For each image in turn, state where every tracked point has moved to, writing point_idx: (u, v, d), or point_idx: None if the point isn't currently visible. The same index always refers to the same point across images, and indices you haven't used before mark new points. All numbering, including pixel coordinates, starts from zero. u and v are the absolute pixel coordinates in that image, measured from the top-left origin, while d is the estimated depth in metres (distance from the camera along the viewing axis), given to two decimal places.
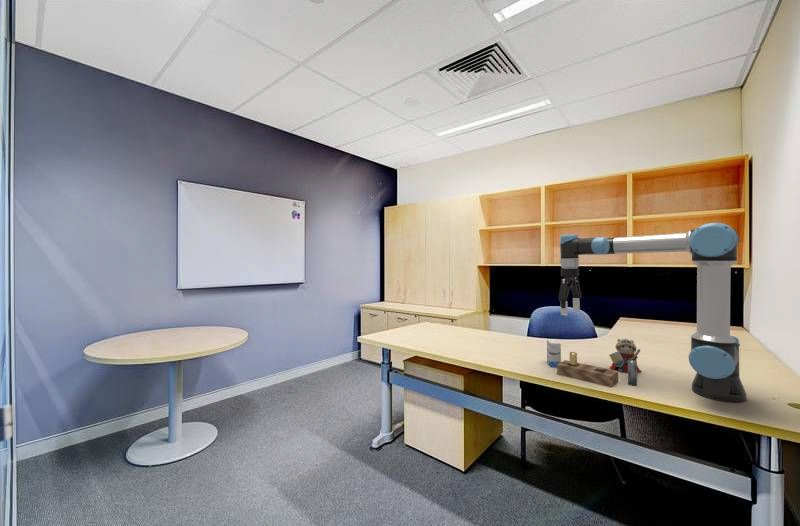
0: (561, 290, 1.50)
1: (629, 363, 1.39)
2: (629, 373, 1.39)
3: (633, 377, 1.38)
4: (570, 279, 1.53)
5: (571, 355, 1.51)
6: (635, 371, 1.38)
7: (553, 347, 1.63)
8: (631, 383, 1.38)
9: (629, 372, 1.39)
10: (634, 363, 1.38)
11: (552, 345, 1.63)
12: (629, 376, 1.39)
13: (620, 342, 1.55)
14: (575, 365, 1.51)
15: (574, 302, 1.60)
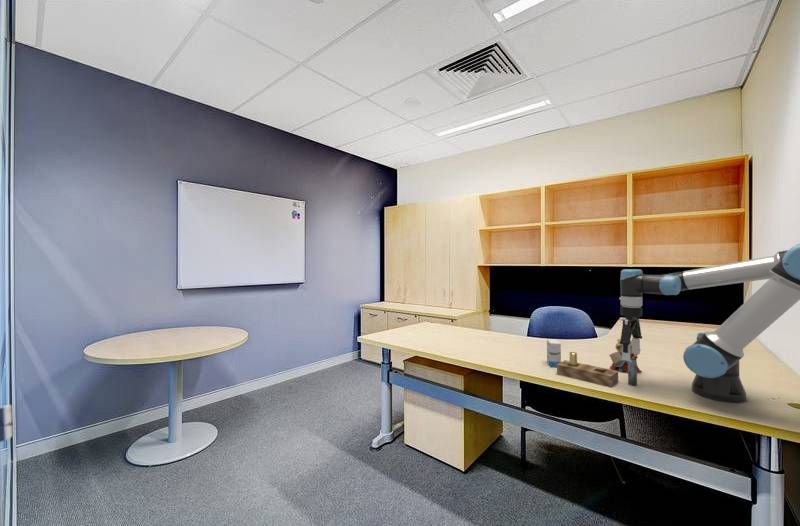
0: (623, 333, 1.34)
1: (629, 363, 1.39)
2: (629, 373, 1.39)
3: (633, 377, 1.38)
4: (632, 319, 1.37)
5: (571, 355, 1.51)
6: (635, 371, 1.38)
7: (553, 347, 1.63)
8: (631, 383, 1.38)
9: (629, 372, 1.39)
10: (634, 363, 1.38)
11: (552, 345, 1.63)
12: (629, 376, 1.39)
13: None
14: (575, 365, 1.51)
15: (634, 343, 1.44)
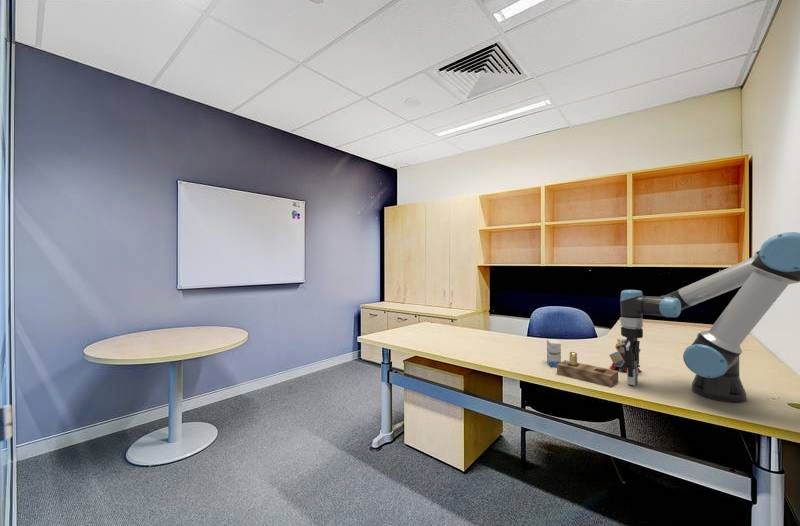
0: (627, 358, 1.36)
1: None
2: None
3: None
4: (633, 340, 1.36)
5: (571, 355, 1.51)
6: (635, 371, 1.38)
7: (553, 347, 1.63)
8: None
9: None
10: (634, 363, 1.38)
11: (552, 345, 1.63)
12: None
13: (620, 342, 1.55)
14: (575, 365, 1.51)
15: None
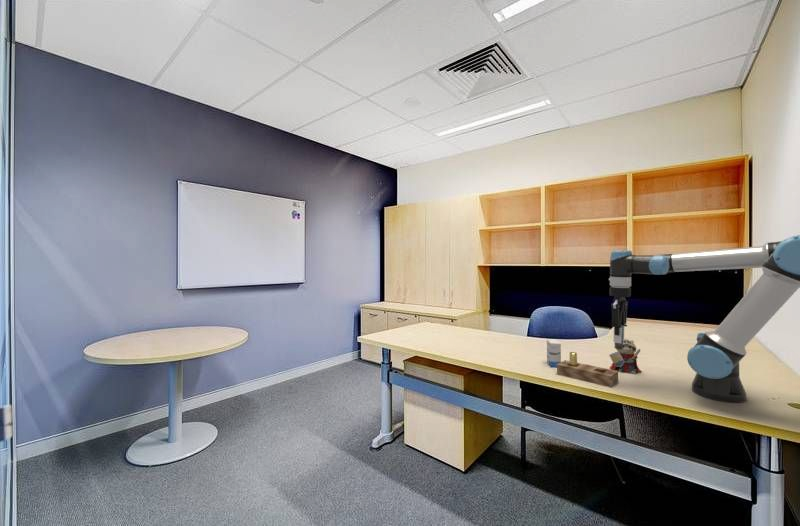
0: (614, 316, 1.38)
1: None
2: None
3: None
4: (620, 298, 1.38)
5: (571, 355, 1.51)
6: (622, 335, 1.40)
7: (553, 347, 1.63)
8: (617, 347, 1.40)
9: None
10: (621, 327, 1.40)
11: (552, 345, 1.63)
12: None
13: None
14: (575, 365, 1.51)
15: None
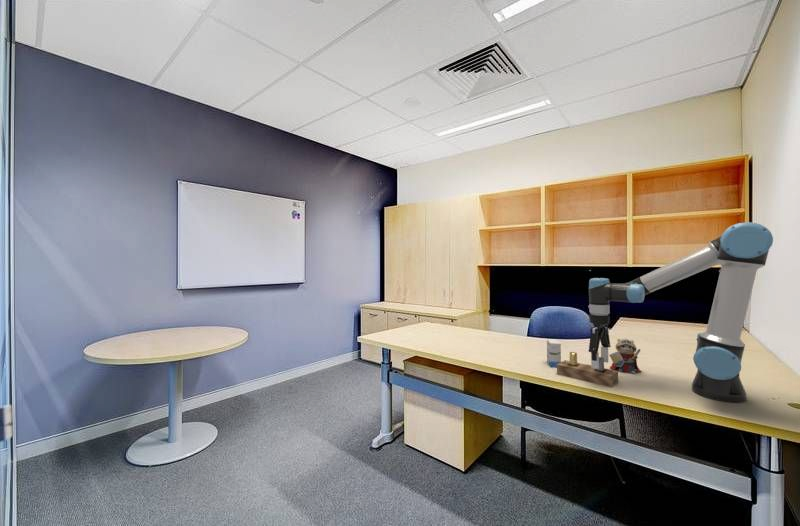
0: (592, 341, 1.39)
1: None
2: (597, 370, 1.43)
3: None
4: (600, 326, 1.41)
5: (571, 355, 1.51)
6: (602, 368, 1.42)
7: (553, 347, 1.63)
8: None
9: (597, 369, 1.43)
10: (601, 360, 1.42)
11: (552, 345, 1.63)
12: None
13: (620, 342, 1.55)
14: (575, 365, 1.51)
15: (603, 352, 1.48)
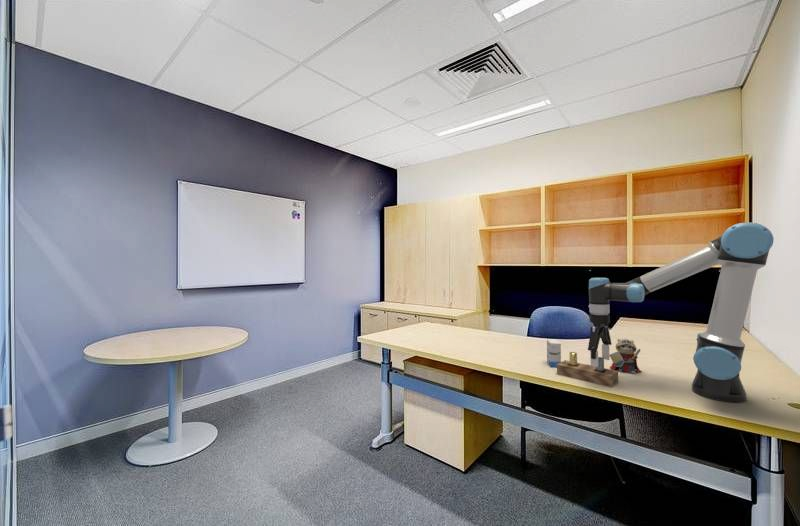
0: (591, 339, 1.38)
1: None
2: (597, 370, 1.43)
3: None
4: (600, 326, 1.41)
5: (571, 355, 1.51)
6: (602, 368, 1.42)
7: (553, 347, 1.63)
8: None
9: (597, 369, 1.43)
10: (601, 360, 1.42)
11: (552, 345, 1.63)
12: None
13: (620, 342, 1.55)
14: (575, 365, 1.51)
15: (604, 349, 1.48)
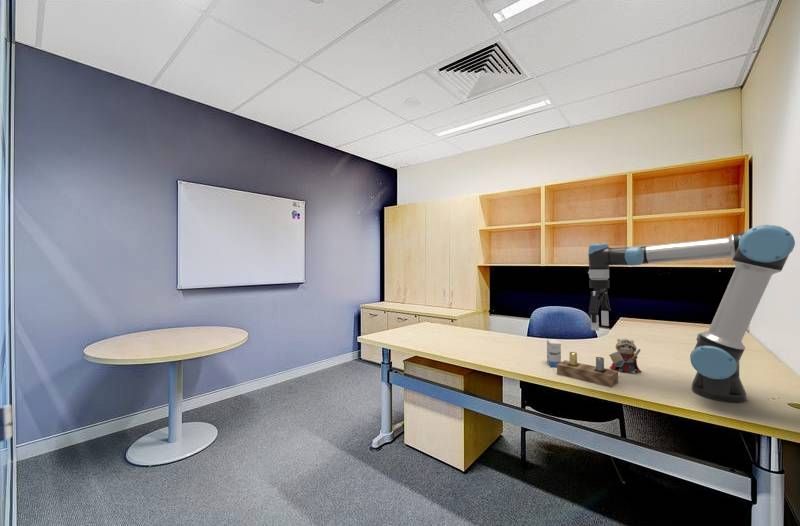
0: (592, 303, 1.40)
1: (597, 360, 1.43)
2: (597, 370, 1.43)
3: None
4: (600, 291, 1.43)
5: (571, 355, 1.51)
6: (602, 368, 1.42)
7: (553, 347, 1.63)
8: None
9: (597, 369, 1.43)
10: (601, 360, 1.42)
11: (552, 345, 1.63)
12: None
13: (620, 342, 1.55)
14: (575, 365, 1.51)
15: (603, 315, 1.50)
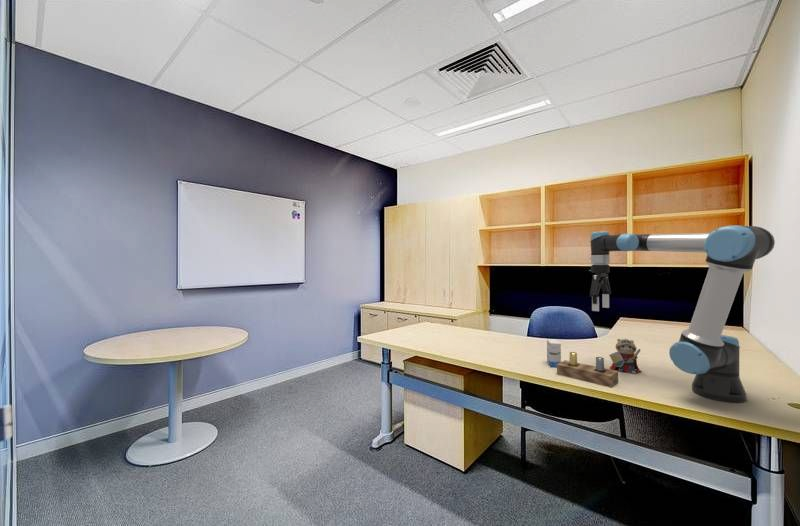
0: (593, 286, 1.52)
1: (597, 360, 1.43)
2: (597, 370, 1.43)
3: None
4: (601, 275, 1.55)
5: (571, 355, 1.51)
6: (602, 368, 1.42)
7: (553, 347, 1.63)
8: None
9: (597, 369, 1.43)
10: (601, 360, 1.42)
11: (552, 345, 1.63)
12: None
13: (620, 342, 1.55)
14: (575, 365, 1.51)
15: (604, 298, 1.62)
